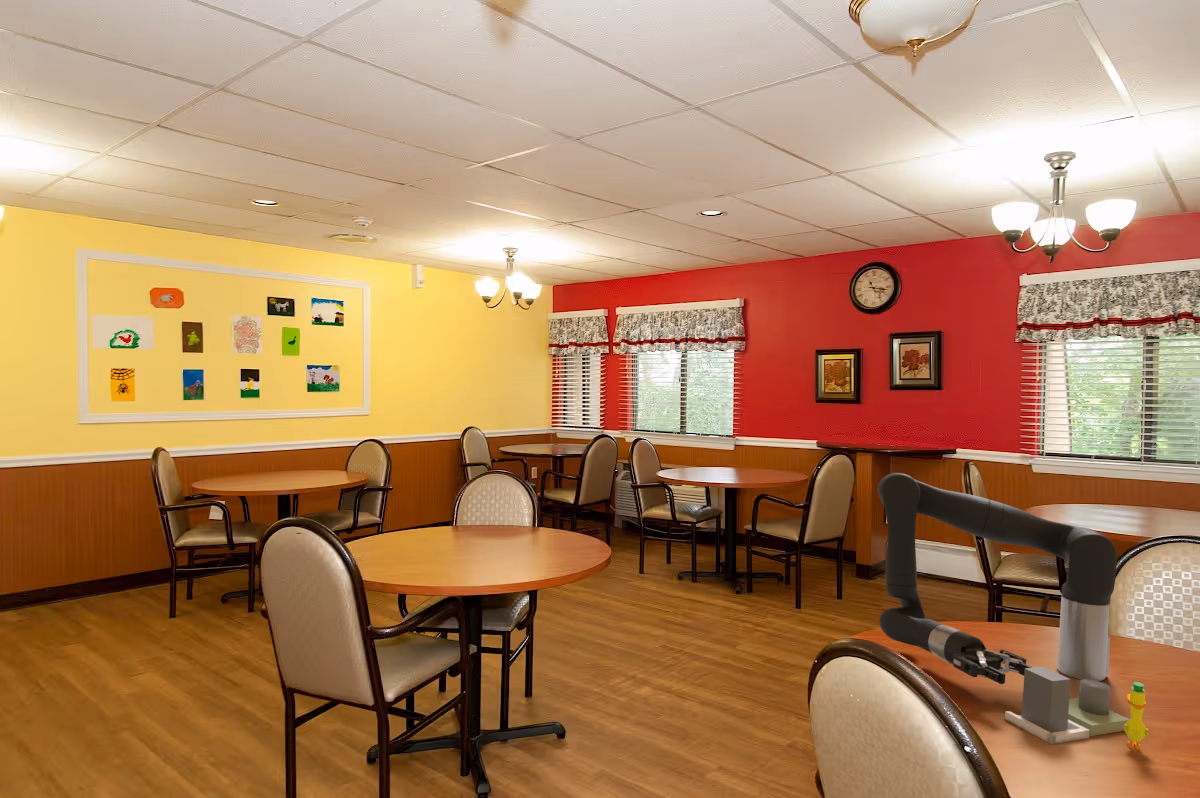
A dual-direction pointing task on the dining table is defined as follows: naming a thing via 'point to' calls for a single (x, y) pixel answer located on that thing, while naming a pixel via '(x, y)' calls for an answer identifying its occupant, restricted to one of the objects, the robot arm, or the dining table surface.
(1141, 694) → the toy figure
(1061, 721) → the gray rectangular block
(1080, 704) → the cylinder and block set
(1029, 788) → the dining table surface
